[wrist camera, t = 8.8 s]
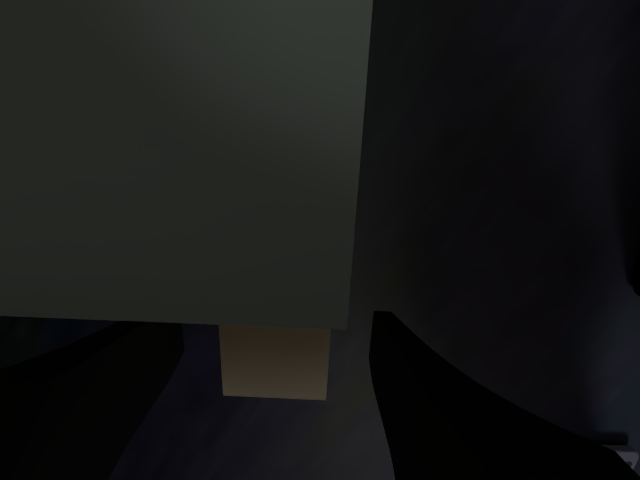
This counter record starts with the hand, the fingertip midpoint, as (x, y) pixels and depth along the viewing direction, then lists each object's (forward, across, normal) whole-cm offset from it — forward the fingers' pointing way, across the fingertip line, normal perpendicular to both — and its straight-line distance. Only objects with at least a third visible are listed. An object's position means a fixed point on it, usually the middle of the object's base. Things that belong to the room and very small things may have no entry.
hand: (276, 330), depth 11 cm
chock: (+4, 0, 0) cm, 4 cm away
